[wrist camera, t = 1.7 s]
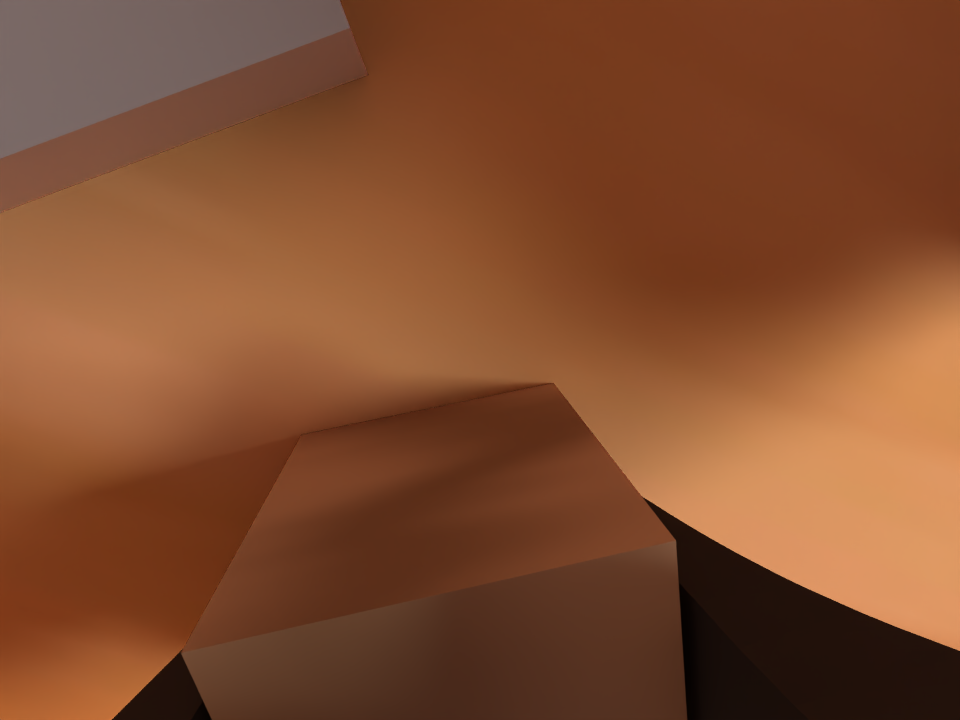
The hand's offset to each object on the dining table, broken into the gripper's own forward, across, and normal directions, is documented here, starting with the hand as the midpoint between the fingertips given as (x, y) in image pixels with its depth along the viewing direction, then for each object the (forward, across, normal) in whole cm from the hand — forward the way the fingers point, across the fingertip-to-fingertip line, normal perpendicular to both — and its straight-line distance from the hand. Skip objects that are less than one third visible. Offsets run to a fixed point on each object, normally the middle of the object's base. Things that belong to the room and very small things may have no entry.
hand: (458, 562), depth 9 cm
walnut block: (+2, 0, 0) cm, 2 cm away
